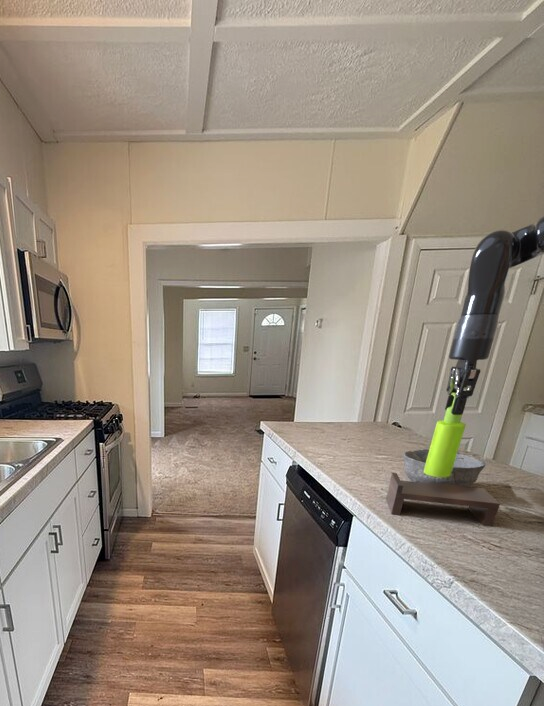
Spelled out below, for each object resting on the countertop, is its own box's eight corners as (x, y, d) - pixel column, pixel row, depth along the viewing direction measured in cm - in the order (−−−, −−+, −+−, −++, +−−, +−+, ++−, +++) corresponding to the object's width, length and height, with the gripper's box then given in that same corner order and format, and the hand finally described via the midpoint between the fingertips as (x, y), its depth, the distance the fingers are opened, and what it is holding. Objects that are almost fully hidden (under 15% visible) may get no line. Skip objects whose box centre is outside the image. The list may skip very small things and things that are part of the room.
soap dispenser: (447, 469, 106) (470, 391, 97) (452, 478, 100) (477, 396, 91) (421, 467, 108) (442, 390, 99) (424, 475, 102) (447, 395, 93)
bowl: (479, 506, 110) (490, 471, 107) (394, 493, 120) (402, 460, 117) (472, 485, 127) (482, 454, 123) (398, 475, 137) (405, 446, 133)
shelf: (476, 509, 108) (486, 481, 105) (492, 526, 98) (502, 495, 95) (385, 499, 116) (391, 472, 113) (391, 514, 106) (398, 485, 102)
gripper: (505, 336, 84) (481, 418, 90) (482, 337, 96) (463, 409, 102) (462, 336, 86) (442, 416, 93) (446, 337, 99) (429, 408, 105)
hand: (453, 412), depth 98 cm, fingers closed on soap dispenser, 5 cm apart
